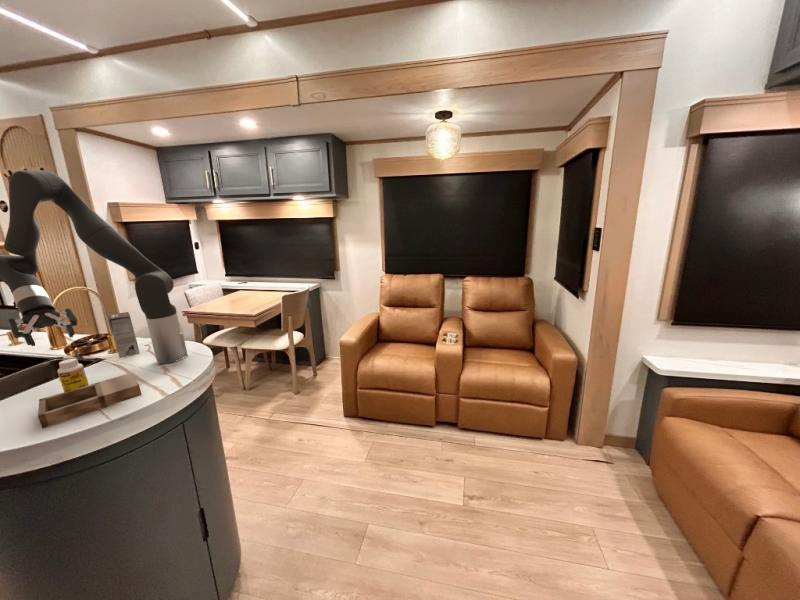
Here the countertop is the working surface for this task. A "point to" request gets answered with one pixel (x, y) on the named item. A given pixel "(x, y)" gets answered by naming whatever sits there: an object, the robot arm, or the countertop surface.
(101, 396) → the cup caddy
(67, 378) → the supplement bottle
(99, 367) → the countertop surface
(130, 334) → the coffee box
